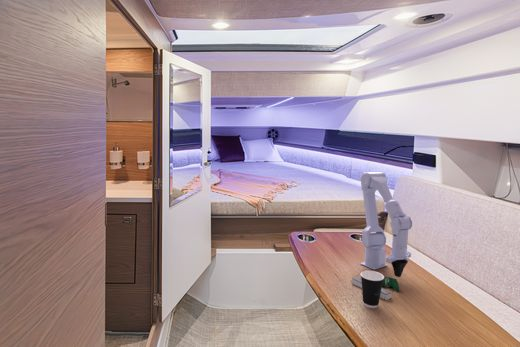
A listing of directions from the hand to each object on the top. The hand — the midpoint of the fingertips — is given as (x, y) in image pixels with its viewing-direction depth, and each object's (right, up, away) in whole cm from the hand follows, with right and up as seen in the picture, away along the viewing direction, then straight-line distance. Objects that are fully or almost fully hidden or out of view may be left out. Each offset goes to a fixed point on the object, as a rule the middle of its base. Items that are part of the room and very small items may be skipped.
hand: (397, 276), depth 133 cm
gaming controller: (-7, -3, -6) cm, 10 cm away
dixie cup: (-18, -4, -20) cm, 27 cm away
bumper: (-15, -3, -9) cm, 18 cm away
